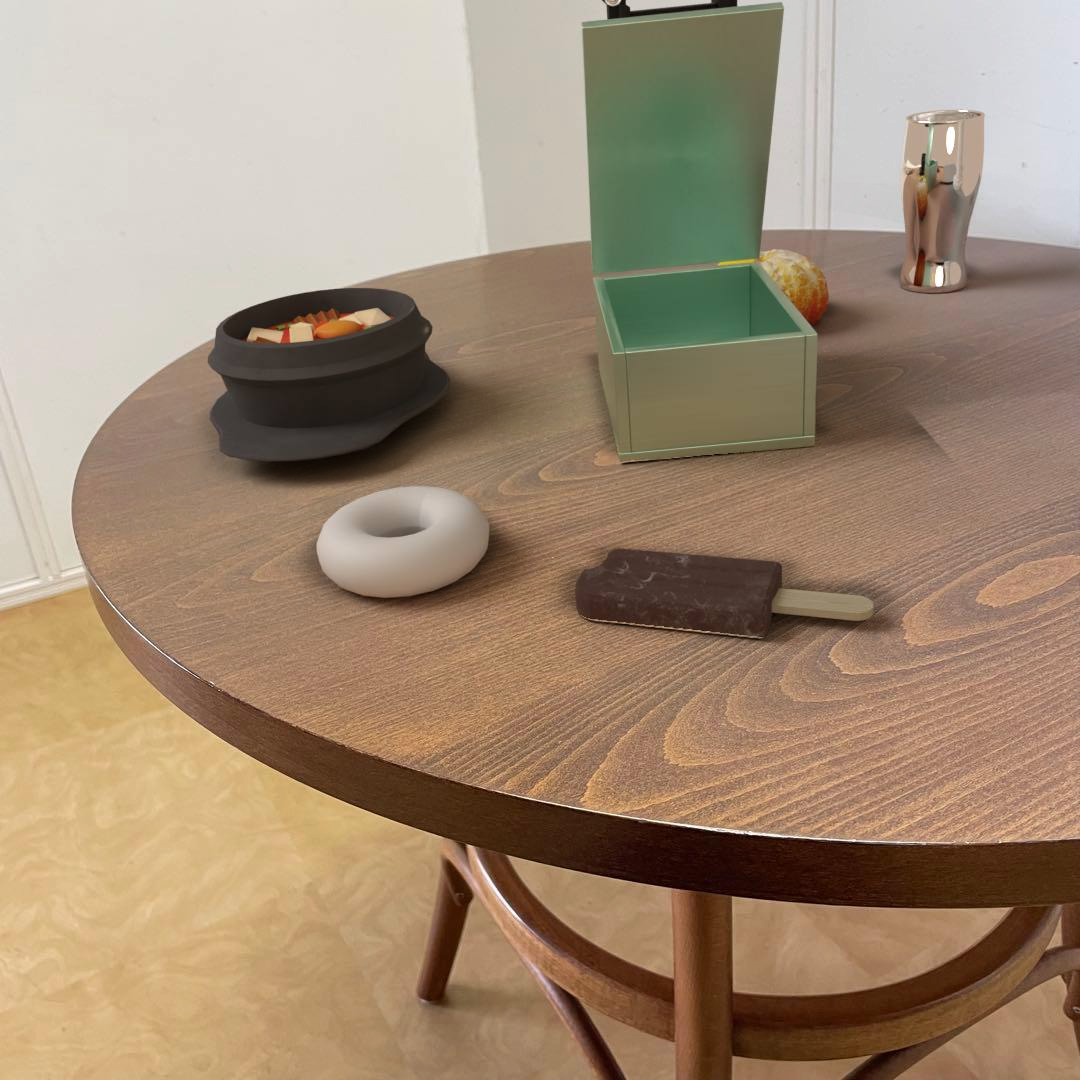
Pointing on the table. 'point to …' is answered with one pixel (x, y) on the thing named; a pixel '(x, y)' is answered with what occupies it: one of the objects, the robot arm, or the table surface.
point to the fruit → (795, 281)
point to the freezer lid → (679, 133)
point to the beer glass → (939, 196)
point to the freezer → (704, 362)
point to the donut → (403, 541)
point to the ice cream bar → (702, 593)
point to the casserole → (321, 373)
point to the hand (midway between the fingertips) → (673, 59)
